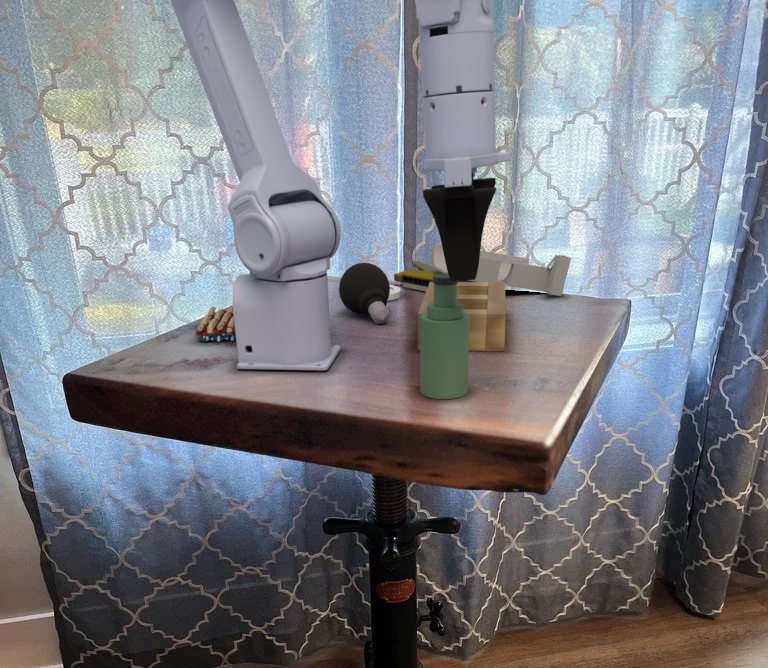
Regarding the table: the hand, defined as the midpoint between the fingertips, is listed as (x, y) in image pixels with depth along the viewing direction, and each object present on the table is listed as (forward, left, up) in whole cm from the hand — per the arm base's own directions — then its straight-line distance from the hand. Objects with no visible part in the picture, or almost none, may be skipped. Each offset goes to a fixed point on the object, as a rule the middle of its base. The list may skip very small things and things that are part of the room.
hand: (464, 272), depth 68 cm
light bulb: (-13, +28, -11) cm, 33 cm away
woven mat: (-27, +21, -9) cm, 35 cm away
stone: (-9, +52, -10) cm, 54 cm away
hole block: (-1, +22, -11) cm, 24 cm away
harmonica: (-6, +43, -8) cm, 45 cm away
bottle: (-2, 0, -11) cm, 11 cm away
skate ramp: (+3, +44, -9) cm, 45 cm away
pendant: (-15, +42, -10) cm, 45 cm away
